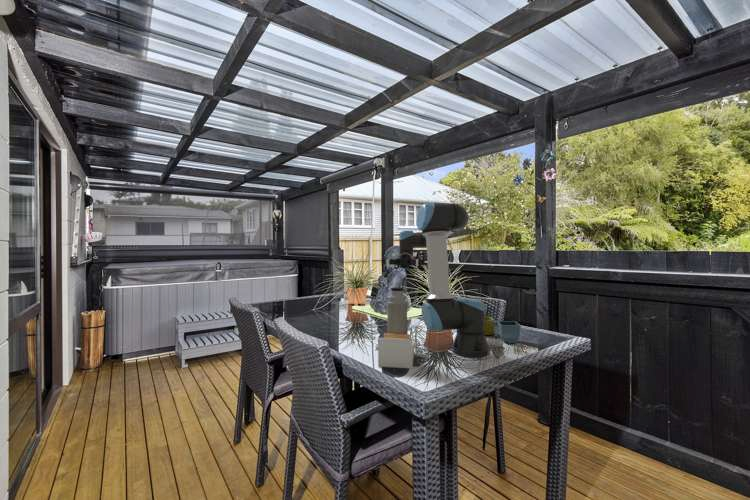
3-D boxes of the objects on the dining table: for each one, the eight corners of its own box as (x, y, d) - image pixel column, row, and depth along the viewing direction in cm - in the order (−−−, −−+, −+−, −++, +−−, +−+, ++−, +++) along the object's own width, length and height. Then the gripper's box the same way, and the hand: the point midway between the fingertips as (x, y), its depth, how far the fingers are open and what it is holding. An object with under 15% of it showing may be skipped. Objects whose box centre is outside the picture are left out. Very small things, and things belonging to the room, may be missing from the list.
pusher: (384, 358, 141) (384, 333, 140) (409, 359, 139) (409, 334, 139) (383, 361, 137) (382, 335, 137) (408, 362, 136) (408, 336, 135)
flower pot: (497, 339, 172) (497, 320, 172) (516, 339, 171) (516, 321, 171) (501, 344, 163) (501, 325, 163) (520, 344, 162) (521, 325, 162)
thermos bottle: (402, 352, 149) (402, 286, 148) (410, 358, 141) (410, 288, 141) (385, 354, 147) (384, 287, 146) (391, 360, 139) (391, 289, 138)
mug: (493, 327, 187) (490, 311, 184) (498, 338, 177) (495, 321, 174) (470, 331, 189) (467, 315, 186) (473, 342, 179) (470, 325, 176)
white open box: (383, 352, 152) (383, 327, 151) (414, 354, 150) (414, 328, 150) (378, 366, 135) (378, 338, 135) (412, 368, 133) (412, 339, 133)
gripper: (429, 268, 179) (429, 271, 158) (380, 267, 183) (374, 271, 162) (429, 253, 179) (429, 254, 158) (380, 253, 182) (374, 254, 161)
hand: (401, 263), depth 159 cm, fingers open, 13 cm apart
